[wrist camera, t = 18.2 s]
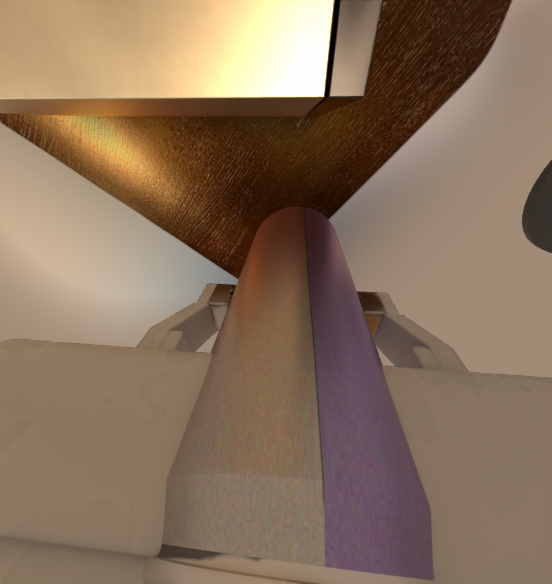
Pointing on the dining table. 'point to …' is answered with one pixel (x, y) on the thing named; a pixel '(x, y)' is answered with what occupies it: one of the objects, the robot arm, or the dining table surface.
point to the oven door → (349, 53)
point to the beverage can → (294, 436)
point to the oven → (164, 57)
